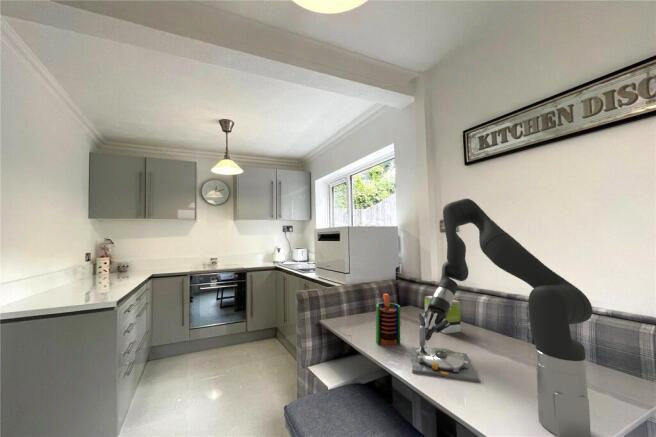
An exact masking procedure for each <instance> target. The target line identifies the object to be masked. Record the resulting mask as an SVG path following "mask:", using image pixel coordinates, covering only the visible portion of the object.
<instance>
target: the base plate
mask: <svg viewBox="0 0 656 437" xmlns="http://www.w3.org/2000/svg"><path fill="white" fill-rule="evenodd" d="M417 349H419V350H420V347H413V346H411V369H412V370H411V372H412V374H416V375H417V374H418V375H426V376H430V377H431V376H433V377H438V378H447V379H453V380H460V381H466V382H473V383H474V382H475V383H480V378H479V375H478V373H477V371H476V369H475V367H474V366H473V364H472V362H471V360H470V357H469V356H468V354H467V352H466V353H465V352H456V351H455V352H456V353H458V354H460V353H461V354H463V355H464V357H465V361H468V368H466V367H463V368H462V369H459V372H453V371H452V370H442V369H438V370H435V369H432V367H431V366H428V365H426V364H424V363H420V362H419V361H418V357H417V356H419V355H416V350H417Z"/></svg>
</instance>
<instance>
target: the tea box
mask: <svg viewBox="0 0 656 437" xmlns="http://www.w3.org/2000/svg"><path fill="white" fill-rule="evenodd" d="M432 297H433V295H427V296H424V312H425V311H426V310H427V309H428V305H429V303H430V301H431V299H432ZM446 320H448V322H449V324H450V326H449V327H447V328H445V329H444V330H442V331H440V332H441V333H443V334H444V333H446V334H451V333H452V334H455V333H460V332H461V330H462V329H461V327H462V326H461V323H462V322H461V301H459V300H455V299H453V302H452V305H451V307H450V309H449V312H448V314H447V316H446ZM424 321H425V324H426V317H425V320H424ZM440 332H439V333H440Z"/></svg>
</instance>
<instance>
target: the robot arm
mask: <svg viewBox="0 0 656 437" xmlns="http://www.w3.org/2000/svg"><path fill="white" fill-rule="evenodd" d="M442 219H443V227H444V232H445V237H446V247H447V248H446V261H445V262H444V263H443V264H442V265H441V266H442V267H441V276H440V277H441V278H440V281H439V284H438V285H437V287H436V289H435V291H434V293H433V294H432V296H433V297H432V299H431V301H430V303H429V305H428V309H427V310H426V311H425V310H424V313H421V312H419V313H418V319H419V322H420V326H425V342H429V341H430V340H431V338H432V335H434V333H436V334H439V333H440V331H442V330H444V329H445V328H447V327H449V326H450V324H449V322H448V320H446V316H447V314H448V312H449V309H450V307H451V305H452V302H453V300H454V298H455V296H456V293H457V291H458V288H459V286H458V283H457V282H456V281H459V282H464V281H466V280H467V279H468V277H469V273H470V272H469V267H468V264H467V261H466V255H467V254H466V253H467V246H466V244H465V241H464V240H463V239H462V237H460V236H459V234H458V233H457V228H458V227H460V226H461V227H462V226H463V225H468V224H473V225H474V226H475V227H476V228H477V229H478V232H479V234H478V235H479V237H478V239H479V240H478V241H479V248H480V250H481V251H482V253H483V254H484V255H485V256H486V257H487V258H488V259H489V260H490V261H491V263H493V264H494V265H495V266H496V267H497V268H499V269H501V270H503V271H504V272H506V273H507V274H509V275H512V276H514V277H515V278H517V279H519V280H521V281H523V282H525V283H526V284H527V285H529V286H530V287H531V288H533V289H532V290H531V291H530V293H529V296H528V301H527V302H528V303H527V305H528V308H527V309H528V317H529V325H530V326H529V327H530V328H529V329H530V333H531V337H532V338H533V341H534V344H535V345H534V346H535V365H536V368H535V370H536V387H537V388H536V389H537V392H536V393H537V407H538V411H537V412H538V421H539V422H538V423H540V424H541V426H542V427H544V428H545V429H546V430H547V431H549V432H550V433H552V434H554V435H555V437H592V433H591V417H590V402H589V401H590V400H589V395H588V394H589V393H588V378H587V377H588V376H587V361H586V358H587V357H586V349H585V346H584V345H583V343H581V342H579V341H578V340H575V339H573V338H572V336H571V329H570V327H571V326H570V325H574V324H575V325H576V324H581V323H585V322H587V321H589V320H590V319H591V318H592V316H593V306H592V304H591V301H590V299H589V298H588V297H587V295H586V294H585V293H584V292H583V291H582V290H580V289H579V288H578V287H577V286H575V285H574V284H572V283H571V282H570V281H568V280H566V279H565V278H564V277H562V276H561V275H559V274H558V273H556V272H555V271H554V270H552V269H551V268H549V267H548V266H547V265H546V264H544V263H543V262H542V260H540V259H538V258H537V257H536V256H535V255H534V254H532V253H531V252H530V251H529V250H527V249H526V248H525V247H524V246H523V245H522V244H521V243H520V242H519V241H518V240H516V239H515V237H513V236H511V234H509V233H508V232H507V231H505V230H504V229H503V228H501V227H500V226H499V225H498V224H497V223H496V222H495V221H494V220H493V219H492V218H491V217H490V216H489V215H488V214H487V213H486V212H485V211H484V210H483V209H482V208H481V207H480V206H479V205H478V204H477V203H476V202H475V201H474V200H473V199H471V198H463V199H459V200H454V201H451V202H449V203H448V202H447V203H446V204H445V205H444V206H443V208H442ZM454 280H456V281H454ZM425 317H426V324H425Z"/></svg>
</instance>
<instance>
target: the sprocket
mask: <svg viewBox="0 0 656 437" xmlns="http://www.w3.org/2000/svg"><path fill="white" fill-rule="evenodd" d="M419 348H420V350H419V349H417V350H416V355H419V356H417V357H418V361H419V362H420V363H424V364H426V365H428V366H431V367H432V369H435V370H438V369H442V370H452V371H453V372H459V369H462V368H463V367H466V368H468V361H465V357H464V355H463V354H461V353H462V352H458V353H460V354H458V353H456V351H453V350H451V349H450V348H448V347H443V348H442V347H432V346H426V340H425V326H422V325H419Z"/></svg>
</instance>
